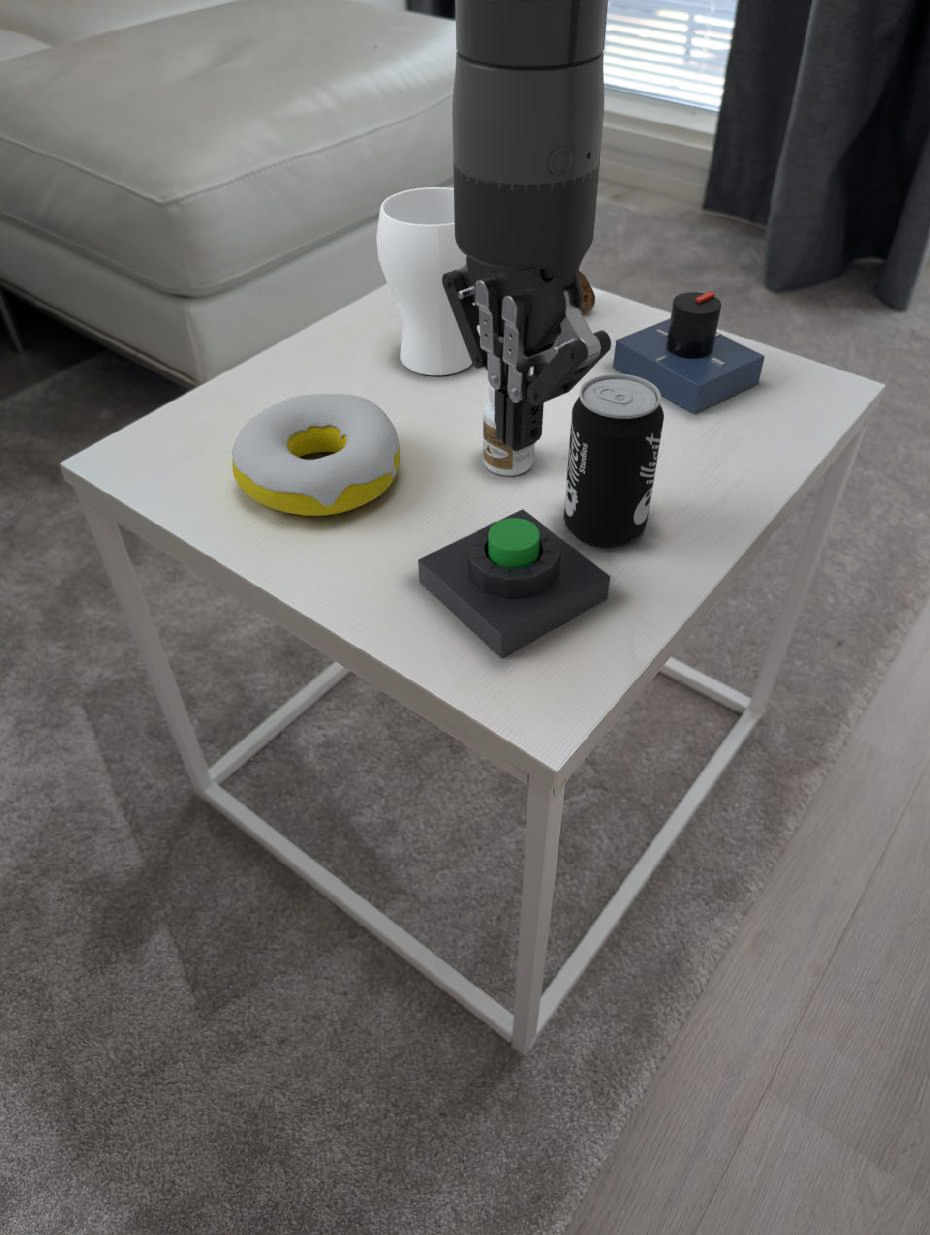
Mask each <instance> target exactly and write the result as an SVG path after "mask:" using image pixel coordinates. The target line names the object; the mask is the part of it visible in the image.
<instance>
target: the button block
mask: <svg viewBox="0 0 930 1235" xmlns="http://www.w3.org/2000/svg"><path fill="white" fill-rule="evenodd" d="M509 518H518V519H524V520H527V521H529V522H531V523H533V524H534V525H535V526H536V527H537V528H538V530H539V532H540V542H539V555H538V558H537V560H536V561H535V562H534V563H533V564H531V565H529V566H527V567H522V568H511V569H510V568H507V567H503V566H499V565H497V564H495V563H494V562H493V561H492V560H491V558H490V557H489V552H488V550H489V530H490V528H491V527H492V526H493V525H494V524H495V523H497V522H498V521H501V520H504V519H509ZM417 566H418V580H419V583H420V584H421V585H423V587H425V588H426V590H428V591H429V592H430V593H431V594H432V595H434V597H435V598H436V599H438V601H440V603H442V604H443V605H444V606H445V607H446V608H447V609H448V610H449V611H451V613H452V614H453V615H454V616H456V618H458V619H459V620H460V621H461V622H462V623H463V624H464V625H465V626H467V627H468V628H469V629H470V630H471V631H472V633H474V634H475V635H476V636H477V637H478V638H479V639H480V640H481V641H482V642H483V643H485V644H486V645H487V647H489V648H490V649H491V650H492V651H493V652H494V653H495V654H496V655H497V656H498V657H500V658H504V657H506V656H508V655H509V654H511V653H514V652H515V651H517V650H519V649H520V648H522V647H524V646H526V645H527V644H529V643H531V642H533V641H535V640H536V639H538V638H540V637H542V636H543V635H545V634H547V633H549V632H550V631H552V630H554V629H556V628H557V627H559V626H561V625H563V624H564V623H567V622H568V621H569V620H572V619H573V618H575V617H577V616H579V615H581V614H583V613H584V612H586V611H588V610H589V609H591V608H593V607H594V606H596V605H598V604H600V603H602V602H603V601H605V600H607V599H608V598H609V593H610V592H609V591H610V584H611V575H610V574H608V573H607V572H606V571H604V570H603V569H602V568H600V567H599V566H598V565H597V564H595V563H594V562H592V561H591V560H590V559H589V558H587V557H586V556H585V555H584V554H582V553H581V552H579V551H578V550H577V549H576V548H575V547H573V546H572V545H571V544H569V543H568V542H566V541H565V540H564V539H563V538H561V537H560V536H559V535H558V534H556V533H555V532H554V531H552V530H551V529H550V528H548V527H547V526H546V525H544V523H542V522H540V521H539V520H538V519H537V518H535V517H534V516H533V515H531V514H530V513H529V512H527V511H526V510H525V509H523V508H522V509H520V510H518V511H516V512H514V513H512V514H509V515H508V516H505V517H504V518H501V519H499V520H497V521H494V522H491V523H489V524H488V525H486V526H484V527H482V528H480V529H478V530H476V531H474V532H472V533H470V534H468V535H466V536H464V537H462V538H460V539H458V540H456V541H453V542H452V543H450V544H447V545H445V546H443V547H441V548H439V549H436V550H435V551H433V552H430V553H428V554H427V555H425V556H422V557H421V558H419V559H418V560H417Z"/></svg>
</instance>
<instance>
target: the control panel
mask: <svg viewBox="0 0 930 1235" xmlns="http://www.w3.org/2000/svg"><path fill="white" fill-rule="evenodd" d="M669 325H670V318H668V319H667V318H666V319H665V320H662V321H660V322H658V323H655V324H653V325H651V326H647V327H645V328H643V329H640V330H638V331H635V332H633V333H631V334H628V335H626V336H623V337H621V338H618V339H616V340H615V345H614V355H613V364H612V369H614V370H616V371H618V372H620V373H621V374H627V375H633V376H637V377H640V378H643V379H645V380H647V381H649V382H651V383H652V384H653V385H655V386H656V387H657V388H658V390H659V392H660V394H661V397H663V398H666V399H667V400H668V401H671V403H674V404H676V405H677V406H679V407H681V408H683V409H685V410H686V411H688V412H689V413H691V414H693V415H695V414H697V413H699V412H702V411H704V410H706V409H709V408H710V407H712V406H714V405H716V404H719V403H721V402H723V401H725V400H728V399H729V398H732V397H733V396H735V395H737V394H740V393H742V392H744V391H747V390H748V389H751V388H753V387H754V386H756V385H758V384H759V383H760V378H761V375H762V370H763V366H764V362H765V357H766V356H765V355H764V354H762V353H760V352H759V351H755V350H754V349H752V348H750V347H748V346H745V345H744V344H742V343H740V342H738V341H735V340H733V339H731V338H730V337H728V336H725V335H723V334H722V333H721V332H718V331H716V336H715V341H714V346H713V351H712V352H711V353H710V354H709V355H707V356H705V357H701V358H685V357H680V356H677V355H675V354H673V353H671V352H670V351H669V350H668V349H667V346H666V344H667V338H668V331H669Z"/></svg>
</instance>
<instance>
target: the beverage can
mask: <svg viewBox="0 0 930 1235" xmlns="http://www.w3.org/2000/svg"><path fill="white" fill-rule="evenodd" d="M661 401H662V395H661V394H660V392H659V390H658V388H657V387H656V386H655V385H653V384H652V383H651V382H649V381H647V380H645V379H643V378H640V377H637V376H633V375H627V374H623V373H607V374H606V373H605V374H600V375H597V376H595V377H592V378H590V379H588V380H586V381H585V382H584V383H582V385H581V387H580V389H579V396H578V398H577V399H576V400H575V402H574V404H573V406H572V409H571V420H570V431H569V432H570V433H569V443H568V444H569V445H568V455H567V456H568V457H567V468H566V481H565V492H564V493H565V494H564V504H563V505H564V506H563V521H564V525H565V527H566V528H567V530H568V531H569V532H570V533H571V534H572V535H573V536H574V537H575V538H576V539H577V540H578V541H580V542H582V543H584V544H586V545H588V546H591V547H595V548H600V549H615V548H620V547H623V546H626V545H628V544H630V543H632V542H633V541H635V540H636V539H638V538H639V537H640V536H641V535H642V534H643V533H644V531H645V530H646V528H647V525H648V518H649V513H650V506H651V502H652V501H651V500H652V494H653V488H654V482H655V476H656V470H657V463H658V457H659V450H660V446H661V440H662V432H663V426H664V422H665V412H664V409H663V407H662V405H661Z"/></svg>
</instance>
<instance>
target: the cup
mask: <svg viewBox="0 0 930 1235" xmlns="http://www.w3.org/2000/svg"><path fill="white" fill-rule="evenodd" d="M375 239H376V250H377V259H378V262H379V265H380V268H381V270H382V273H383V276H384V278H385V279H384V280H385V281H386V283H387V286H388V288H389V289H390V291H391V292H392V294H393V296H394V297H395V299H396V301H397V302H398V305H399V311H400V317H401V321H402V333H401V342H400V355H399V358H400V361H401V364H402V365H403V366H404V367H405V368H406V369H407V370H410V371H412V372H413V373H418V374H420V375H429V376H446V375H452V374H457V373H459V372H462V371H464V370H466V369H468V368H469V367H471V366H472V365H473V363H472V361H471V358H470V356H469V353H468V350H467V348H466V345H465V343H464V340H463V337H462V335H461V332H460V329H459V327H458V324H457V321H456V319H455V316H454V314H453V311H452V308H451V306H450V303H449V300H448V298H447V295H446V292H445V290H444V287H443V284H442V276H443V274H445V273H448V272H451V271H453V270H455V269H458V268H461V267H463V266H465V265H466V255H465V254H464V253H463V252H462V251H461V250H460V249H459V247H458V245H457V243H456V240H455V223H454V187H444V186H427V187H415V188H411V189H406V190H402V191H399V192H397V193H393V194H392V195H390V196H388V197H386V198H385V200H383V201H382V202H381V204H380V209H379V215H378V222H377V229H376V237H375Z"/></svg>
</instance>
